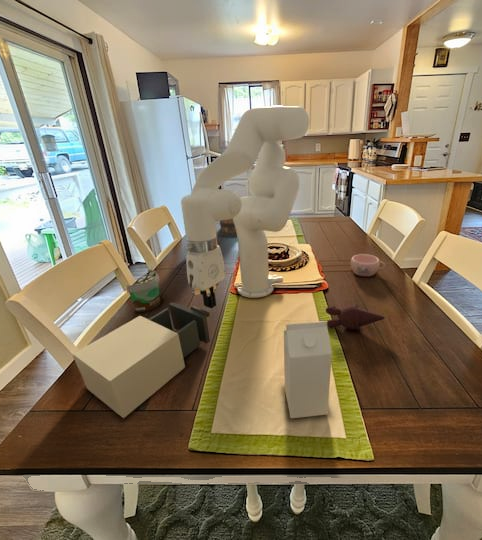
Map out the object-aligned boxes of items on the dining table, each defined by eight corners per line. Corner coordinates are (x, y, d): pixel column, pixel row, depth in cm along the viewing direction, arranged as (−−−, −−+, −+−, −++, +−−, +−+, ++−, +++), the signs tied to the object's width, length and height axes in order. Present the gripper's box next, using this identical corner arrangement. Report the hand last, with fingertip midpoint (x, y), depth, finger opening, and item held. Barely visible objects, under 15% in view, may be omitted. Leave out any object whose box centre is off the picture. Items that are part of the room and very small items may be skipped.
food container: (151, 316, 87) (144, 287, 83) (133, 314, 88) (125, 286, 84) (171, 295, 98) (165, 269, 94) (155, 294, 99) (148, 268, 95)
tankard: (213, 236, 154) (208, 199, 145) (222, 227, 168) (219, 192, 160) (255, 237, 149) (253, 198, 140) (262, 228, 164) (260, 192, 155)
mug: (350, 278, 104) (351, 263, 101) (349, 266, 112) (350, 252, 110) (385, 280, 101) (388, 265, 99) (381, 268, 110) (384, 254, 107)
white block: (148, 347, 74) (139, 315, 70) (185, 367, 67) (178, 333, 63) (87, 388, 63) (72, 353, 58) (123, 418, 56) (109, 381, 51)
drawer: (188, 318, 84) (183, 295, 80) (221, 332, 77) (217, 307, 74) (130, 357, 70) (122, 331, 66) (164, 378, 63) (156, 350, 60)
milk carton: (284, 388, 60) (283, 313, 52) (318, 385, 61) (321, 309, 53) (290, 419, 54) (289, 338, 46) (327, 415, 54) (333, 334, 46)
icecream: (382, 300, 78) (325, 300, 81) (387, 309, 71) (324, 309, 74) (382, 325, 79) (326, 324, 83) (387, 335, 72) (325, 334, 75)
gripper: (190, 256, 66) (200, 323, 73) (232, 238, 77) (237, 297, 84) (169, 250, 70) (180, 314, 77) (211, 234, 81) (218, 291, 88)
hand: (210, 305), depth 81 cm, fingers closed
